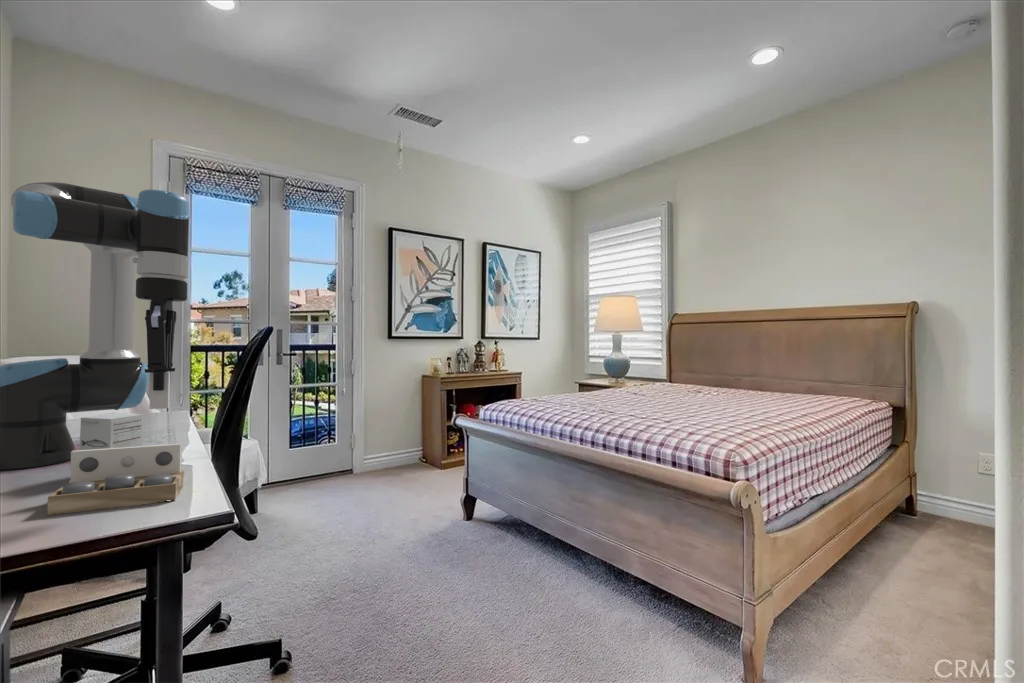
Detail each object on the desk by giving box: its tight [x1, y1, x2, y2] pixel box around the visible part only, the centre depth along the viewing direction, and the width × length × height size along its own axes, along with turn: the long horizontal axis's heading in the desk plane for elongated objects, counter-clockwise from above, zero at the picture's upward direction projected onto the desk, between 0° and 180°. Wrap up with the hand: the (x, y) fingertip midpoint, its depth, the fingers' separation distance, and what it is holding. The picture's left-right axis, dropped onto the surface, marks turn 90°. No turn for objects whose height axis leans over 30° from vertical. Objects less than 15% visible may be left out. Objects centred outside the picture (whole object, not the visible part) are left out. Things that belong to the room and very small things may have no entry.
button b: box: [105, 473, 135, 490], centre depth 82 cm, size 4×4×2 cm
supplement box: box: [79, 412, 144, 450], centre depth 98 cm, size 7×7×13 cm
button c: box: [144, 474, 172, 486], centre depth 85 cm, size 4×4×2 cm
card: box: [69, 443, 182, 483], centre depth 87 cm, size 1×16×6 cm, turn 118°
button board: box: [47, 469, 185, 516], centre depth 84 cm, size 10×17×3 cm, turn 118°
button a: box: [62, 481, 95, 494], centre depth 80 cm, size 4×4×2 cm
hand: (159, 408), depth 85 cm, fingers closed
